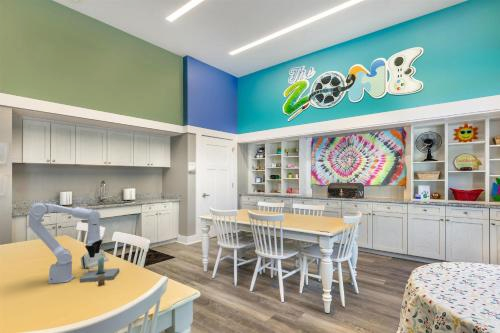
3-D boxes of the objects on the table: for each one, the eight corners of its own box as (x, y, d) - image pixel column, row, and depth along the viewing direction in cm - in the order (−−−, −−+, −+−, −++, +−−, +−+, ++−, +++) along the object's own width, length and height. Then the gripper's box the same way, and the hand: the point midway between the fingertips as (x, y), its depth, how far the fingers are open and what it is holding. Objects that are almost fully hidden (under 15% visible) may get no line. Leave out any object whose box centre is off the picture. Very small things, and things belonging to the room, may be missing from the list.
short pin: (97, 286, 129) (97, 277, 129) (99, 284, 132) (99, 275, 132) (103, 285, 130) (103, 276, 130) (105, 283, 133) (105, 274, 133)
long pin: (97, 278, 140) (97, 259, 140) (98, 276, 143) (98, 258, 143) (102, 277, 141) (103, 259, 141) (104, 275, 143) (104, 257, 144)
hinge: (89, 269, 153) (84, 253, 154) (82, 271, 154) (78, 255, 155) (109, 260, 170) (105, 246, 171) (103, 262, 171) (99, 248, 172)
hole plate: (79, 282, 134) (79, 278, 134) (88, 274, 146) (88, 270, 146) (113, 279, 138) (113, 275, 138) (119, 271, 149) (119, 268, 149)
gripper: (97, 233, 141) (97, 258, 141) (105, 228, 155) (106, 250, 155) (82, 234, 140) (83, 259, 139) (92, 229, 154) (93, 251, 153)
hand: (94, 255), depth 147 cm, fingers open, 7 cm apart
